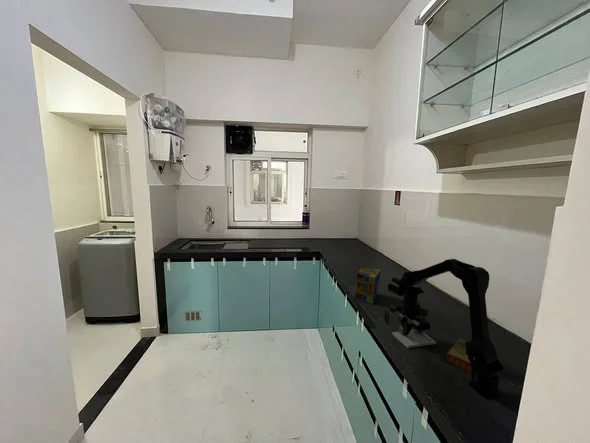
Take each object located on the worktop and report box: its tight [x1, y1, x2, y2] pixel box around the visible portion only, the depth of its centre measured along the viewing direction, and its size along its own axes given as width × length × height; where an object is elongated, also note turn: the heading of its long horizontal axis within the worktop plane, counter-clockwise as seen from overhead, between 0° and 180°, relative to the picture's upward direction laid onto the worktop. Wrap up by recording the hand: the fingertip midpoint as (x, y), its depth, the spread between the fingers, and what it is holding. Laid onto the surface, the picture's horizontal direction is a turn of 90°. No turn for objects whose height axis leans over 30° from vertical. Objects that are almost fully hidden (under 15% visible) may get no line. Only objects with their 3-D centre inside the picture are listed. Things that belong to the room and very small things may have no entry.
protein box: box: [354, 266, 381, 305], centre depth 155 cm, size 10×15×16 cm
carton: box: [445, 338, 472, 374], centre depth 104 cm, size 8×16×4 cm, turn 134°
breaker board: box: [392, 329, 437, 349], centre depth 115 cm, size 10×14×1 cm
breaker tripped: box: [397, 325, 405, 335], centre depth 117 cm, size 3×3×2 cm
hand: (406, 335), depth 115 cm, fingers closed
